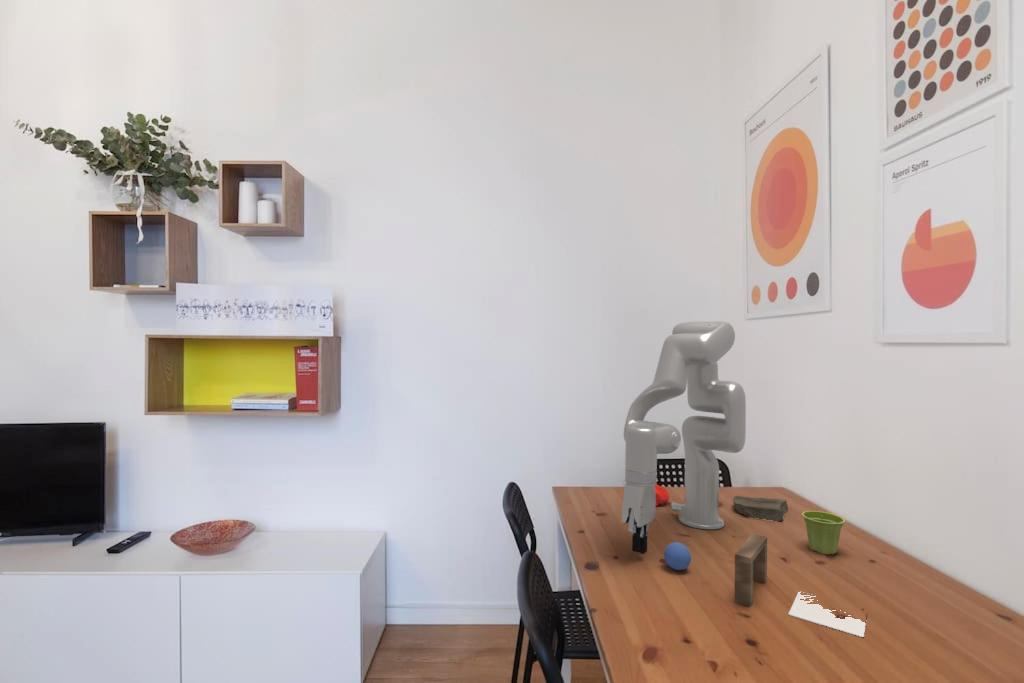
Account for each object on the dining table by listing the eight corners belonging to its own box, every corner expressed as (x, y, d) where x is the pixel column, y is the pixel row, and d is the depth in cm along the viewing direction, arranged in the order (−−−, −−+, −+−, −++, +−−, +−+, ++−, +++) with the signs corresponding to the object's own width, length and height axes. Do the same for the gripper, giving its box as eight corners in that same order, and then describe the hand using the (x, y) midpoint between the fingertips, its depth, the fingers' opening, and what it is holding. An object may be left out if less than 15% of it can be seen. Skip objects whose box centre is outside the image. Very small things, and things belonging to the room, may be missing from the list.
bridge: (734, 601, 101) (734, 554, 102) (752, 576, 113) (752, 533, 113) (750, 606, 100) (750, 558, 100) (766, 580, 111) (767, 536, 111)
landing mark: (788, 615, 97) (788, 614, 97) (798, 592, 106) (798, 591, 106) (863, 638, 89) (863, 637, 89) (867, 611, 99) (867, 610, 99)
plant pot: (851, 559, 123) (851, 524, 124) (809, 555, 125) (810, 521, 125) (835, 545, 133) (835, 512, 133) (796, 541, 135) (796, 509, 135)
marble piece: (787, 510, 162) (787, 498, 162) (795, 525, 148) (795, 511, 148) (731, 504, 168) (731, 491, 168) (734, 518, 154) (734, 504, 154)
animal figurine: (670, 497, 175) (670, 482, 176) (669, 509, 161) (670, 493, 161) (636, 493, 179) (636, 479, 179) (633, 504, 165) (633, 489, 165)
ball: (659, 569, 116) (660, 543, 116) (669, 561, 121) (669, 536, 121) (685, 577, 112) (686, 550, 112) (694, 568, 117) (694, 542, 117)
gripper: (639, 468, 131) (638, 539, 130) (612, 479, 119) (611, 556, 119) (667, 473, 126) (666, 546, 126) (642, 485, 114) (641, 565, 114)
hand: (639, 551), depth 122 cm, fingers closed
